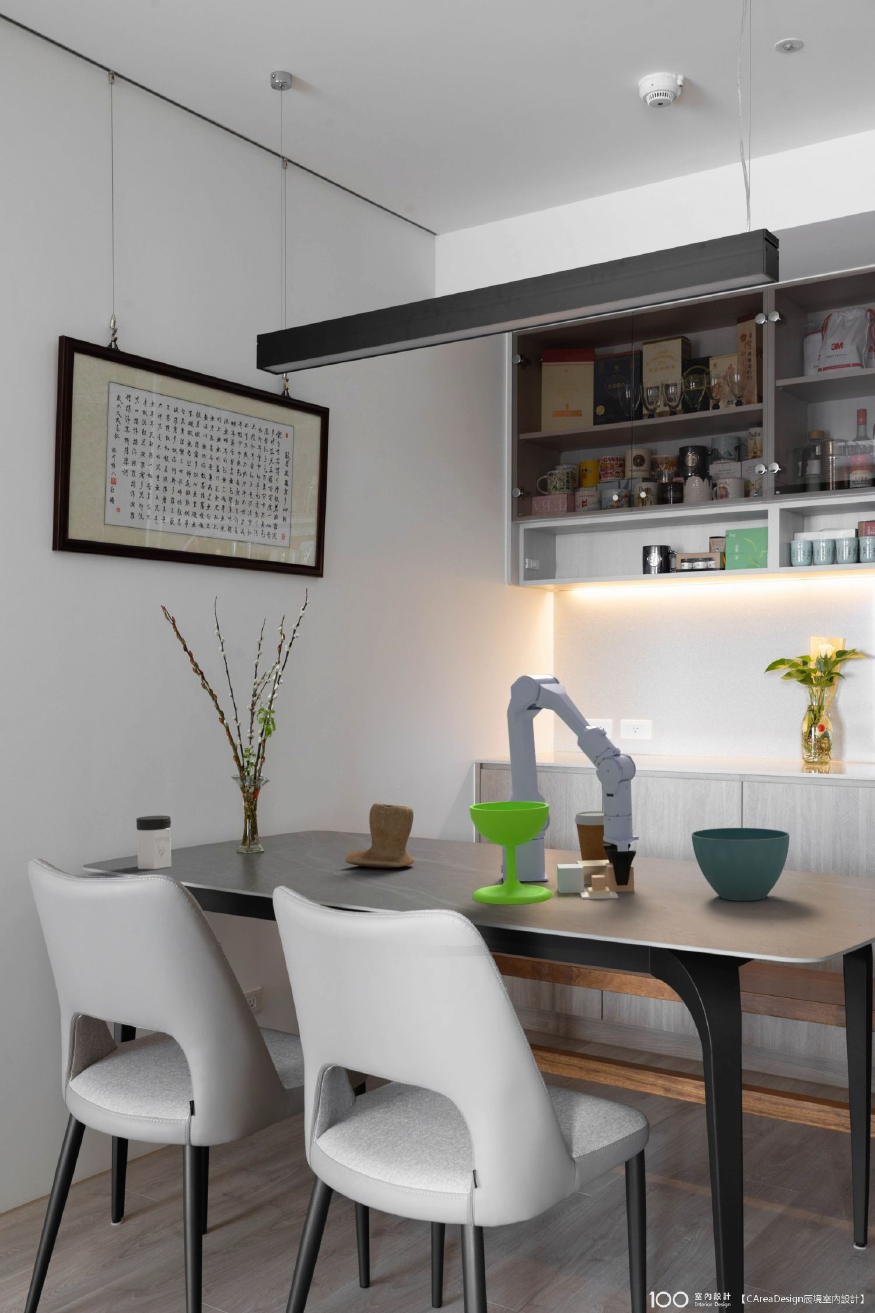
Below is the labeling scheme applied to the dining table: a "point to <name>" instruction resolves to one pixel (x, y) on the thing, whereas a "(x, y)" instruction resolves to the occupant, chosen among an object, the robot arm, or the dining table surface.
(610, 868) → the terracotta block
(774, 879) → the dark teal bowl
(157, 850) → the jar
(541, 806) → the wineglass
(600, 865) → the maple base block
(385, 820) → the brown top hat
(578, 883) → the grey block
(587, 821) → the disposable coffee cup
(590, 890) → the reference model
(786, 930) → the dining table surface
